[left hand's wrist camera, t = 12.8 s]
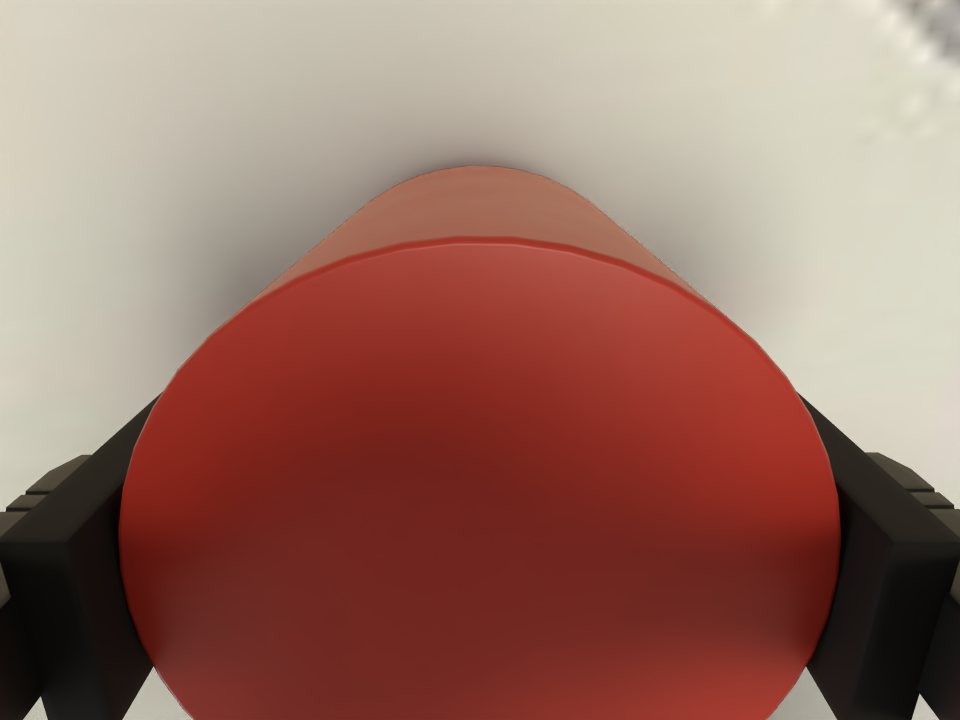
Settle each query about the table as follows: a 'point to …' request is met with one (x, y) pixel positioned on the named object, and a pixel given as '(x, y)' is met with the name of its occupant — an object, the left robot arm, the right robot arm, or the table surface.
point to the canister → (479, 482)
